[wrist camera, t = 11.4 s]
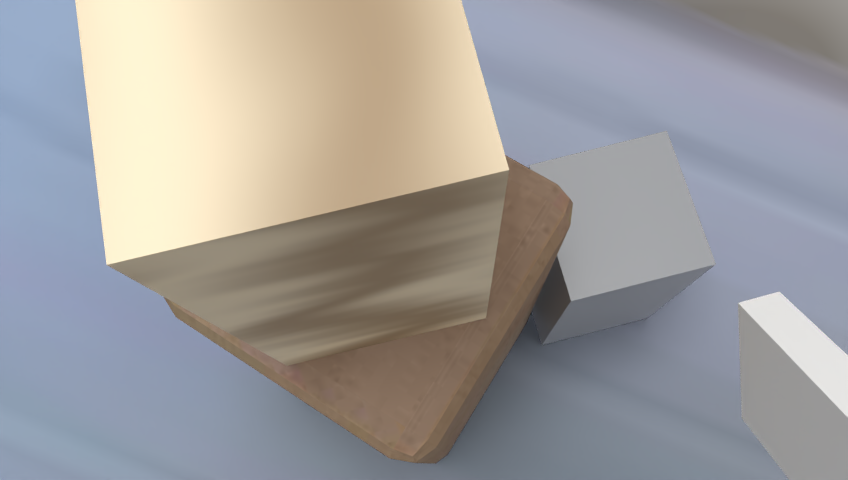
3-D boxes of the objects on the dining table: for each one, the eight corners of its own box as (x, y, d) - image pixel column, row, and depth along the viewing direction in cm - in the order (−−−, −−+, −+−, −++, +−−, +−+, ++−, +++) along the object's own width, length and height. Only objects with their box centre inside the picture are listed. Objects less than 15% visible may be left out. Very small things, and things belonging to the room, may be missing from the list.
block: (533, 311, 43) (590, 189, 24) (438, 471, 41) (416, 477, 22) (382, 222, 45) (322, 41, 26) (283, 370, 43) (138, 294, 24)
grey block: (541, 345, 42) (571, 301, 31) (511, 243, 44) (529, 165, 33) (647, 318, 43) (715, 264, 31) (613, 217, 44) (666, 130, 33)
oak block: (286, 365, 23) (106, 264, 11) (253, 179, 24) (66, -75, 13) (485, 318, 23) (508, 169, 11) (438, 135, 25) (416, -155, 13)
